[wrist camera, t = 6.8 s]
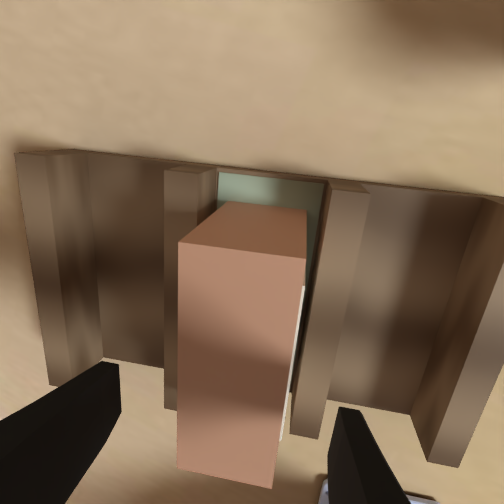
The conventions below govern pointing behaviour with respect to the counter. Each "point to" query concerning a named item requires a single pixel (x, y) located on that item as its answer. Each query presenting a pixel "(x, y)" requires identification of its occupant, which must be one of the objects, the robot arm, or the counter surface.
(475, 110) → the counter surface
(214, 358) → the pink rectangular block
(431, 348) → the rack
